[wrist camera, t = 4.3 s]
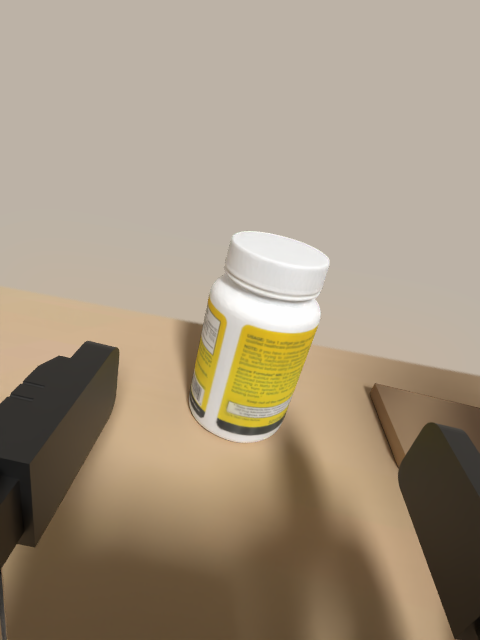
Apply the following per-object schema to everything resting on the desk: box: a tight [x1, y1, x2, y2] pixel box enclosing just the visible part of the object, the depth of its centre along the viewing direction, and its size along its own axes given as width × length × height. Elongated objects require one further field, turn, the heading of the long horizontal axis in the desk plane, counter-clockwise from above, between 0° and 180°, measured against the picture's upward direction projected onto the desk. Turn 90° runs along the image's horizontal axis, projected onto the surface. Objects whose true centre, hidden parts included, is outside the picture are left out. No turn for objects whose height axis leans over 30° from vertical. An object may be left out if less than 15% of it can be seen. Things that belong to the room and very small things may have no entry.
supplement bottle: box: [189, 231, 329, 443], centre depth 16 cm, size 5×5×8 cm
